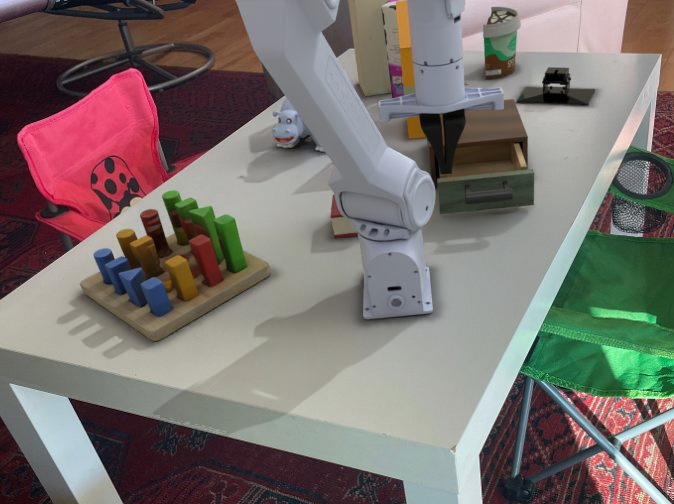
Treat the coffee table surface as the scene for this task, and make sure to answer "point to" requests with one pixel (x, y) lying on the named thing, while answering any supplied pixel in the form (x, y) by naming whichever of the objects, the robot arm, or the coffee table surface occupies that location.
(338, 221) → the book
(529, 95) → the build plate
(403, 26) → the orange juice
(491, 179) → the drawer
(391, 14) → the candy bar box
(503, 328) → the coffee table surface
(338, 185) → the robot arm
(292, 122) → the hippopotamus toy
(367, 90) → the toy refrigerator
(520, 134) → the cabinet
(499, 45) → the food container
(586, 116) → the coffee table surface
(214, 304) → the peg board
